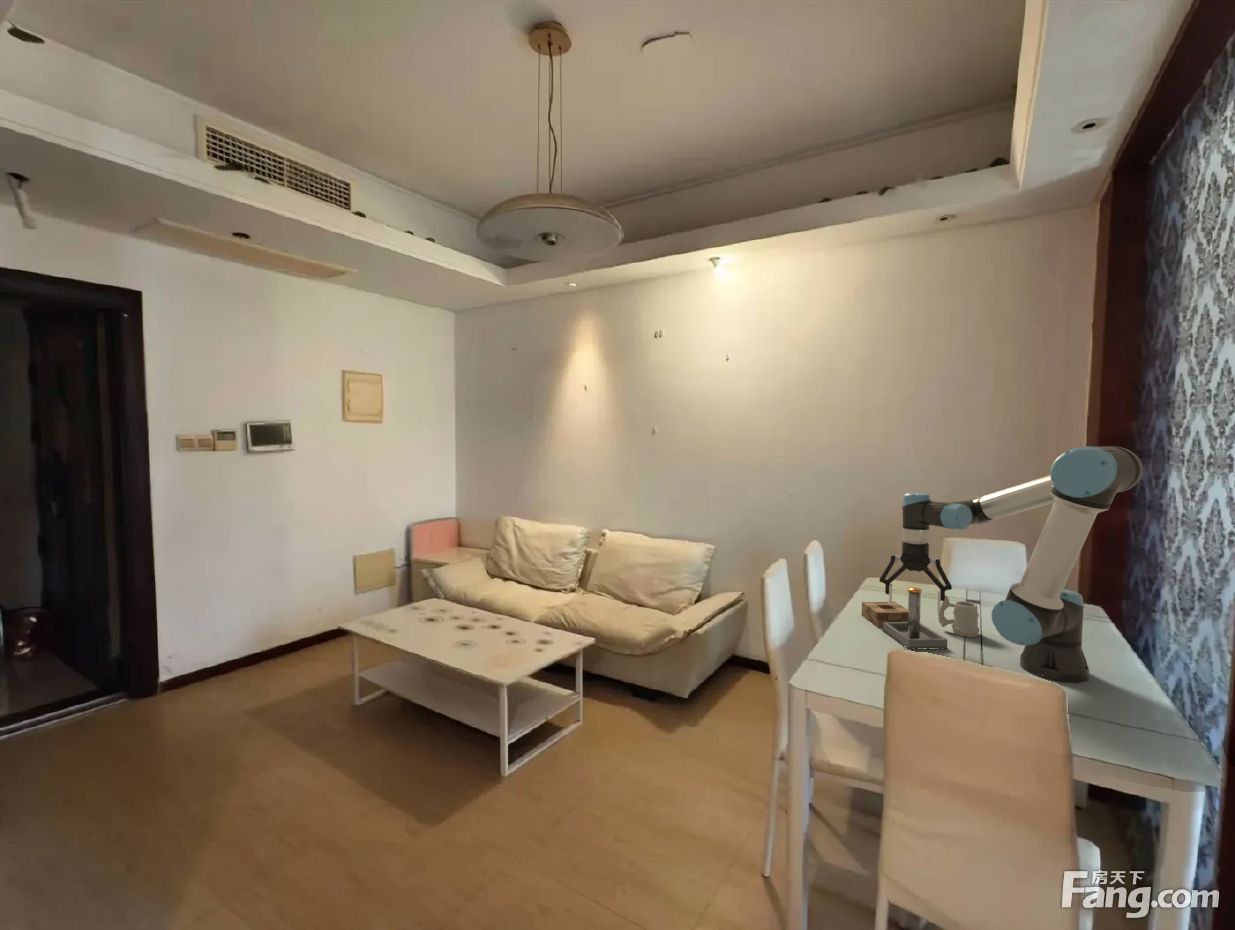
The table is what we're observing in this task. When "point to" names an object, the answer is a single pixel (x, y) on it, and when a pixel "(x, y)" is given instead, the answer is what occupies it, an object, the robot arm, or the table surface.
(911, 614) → the pin
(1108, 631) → the table surface
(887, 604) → the block
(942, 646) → the tray
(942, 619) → the mug
